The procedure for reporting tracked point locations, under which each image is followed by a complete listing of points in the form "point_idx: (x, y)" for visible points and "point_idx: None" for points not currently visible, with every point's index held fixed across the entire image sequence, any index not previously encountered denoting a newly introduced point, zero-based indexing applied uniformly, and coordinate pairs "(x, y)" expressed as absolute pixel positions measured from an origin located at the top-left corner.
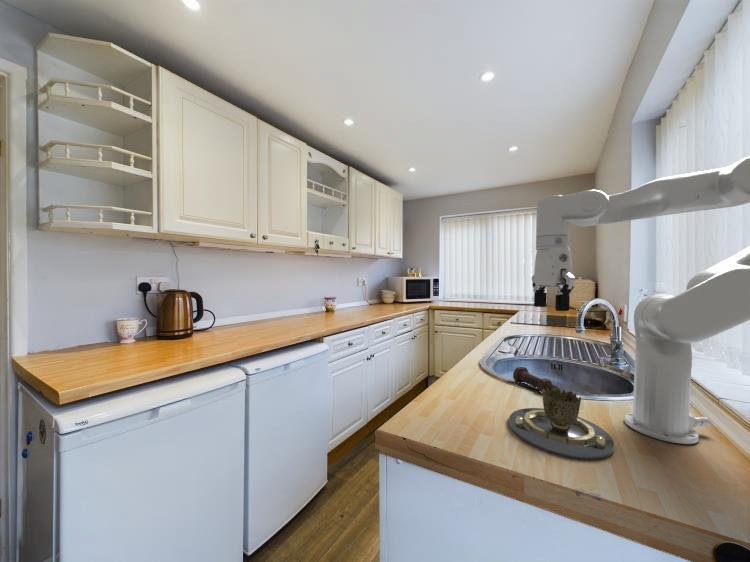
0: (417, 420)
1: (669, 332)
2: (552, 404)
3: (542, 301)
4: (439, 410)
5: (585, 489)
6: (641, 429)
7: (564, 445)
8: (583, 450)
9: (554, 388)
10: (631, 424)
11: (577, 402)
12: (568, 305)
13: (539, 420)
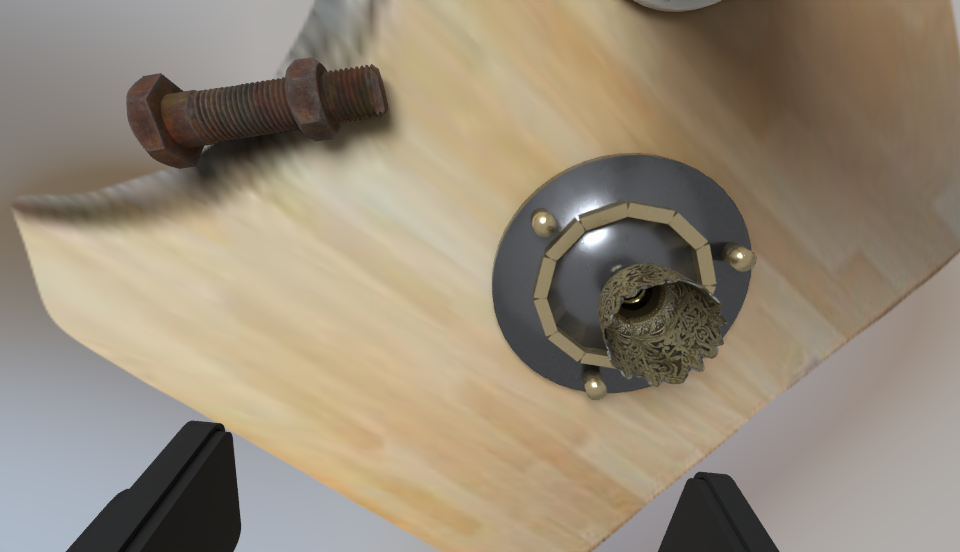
0: (495, 543)
1: None
2: (671, 366)
3: (194, 532)
4: (450, 492)
5: (796, 371)
6: (696, 7)
7: None
8: (727, 304)
9: (373, 102)
10: (659, 7)
11: (723, 320)
12: (759, 536)
13: (572, 307)
